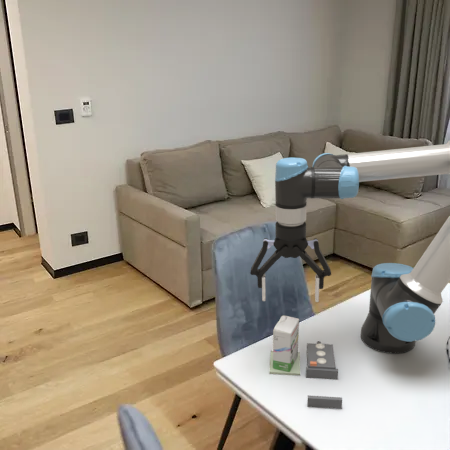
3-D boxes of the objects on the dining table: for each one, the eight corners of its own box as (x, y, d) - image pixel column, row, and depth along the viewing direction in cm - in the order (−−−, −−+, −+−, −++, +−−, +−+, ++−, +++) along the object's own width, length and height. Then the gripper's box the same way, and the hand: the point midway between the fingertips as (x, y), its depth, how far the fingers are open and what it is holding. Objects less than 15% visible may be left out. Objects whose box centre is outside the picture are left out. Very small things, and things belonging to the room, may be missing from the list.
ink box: (290, 372, 135) (291, 333, 131) (271, 368, 136) (272, 329, 133) (298, 355, 142) (299, 317, 138) (281, 351, 144) (282, 314, 140)
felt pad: (299, 354, 144) (299, 352, 144) (300, 375, 134) (300, 373, 134) (270, 352, 145) (270, 350, 145) (269, 373, 135) (269, 371, 135)
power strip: (332, 344, 148) (333, 333, 147) (341, 409, 122) (342, 395, 121) (304, 343, 149) (304, 332, 148) (307, 406, 123) (308, 393, 122)
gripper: (340, 216, 129) (337, 293, 136) (241, 216, 132) (243, 291, 139) (344, 226, 122) (340, 307, 129) (238, 226, 125) (241, 304, 132)
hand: (290, 299), depth 134 cm, fingers open, 13 cm apart
